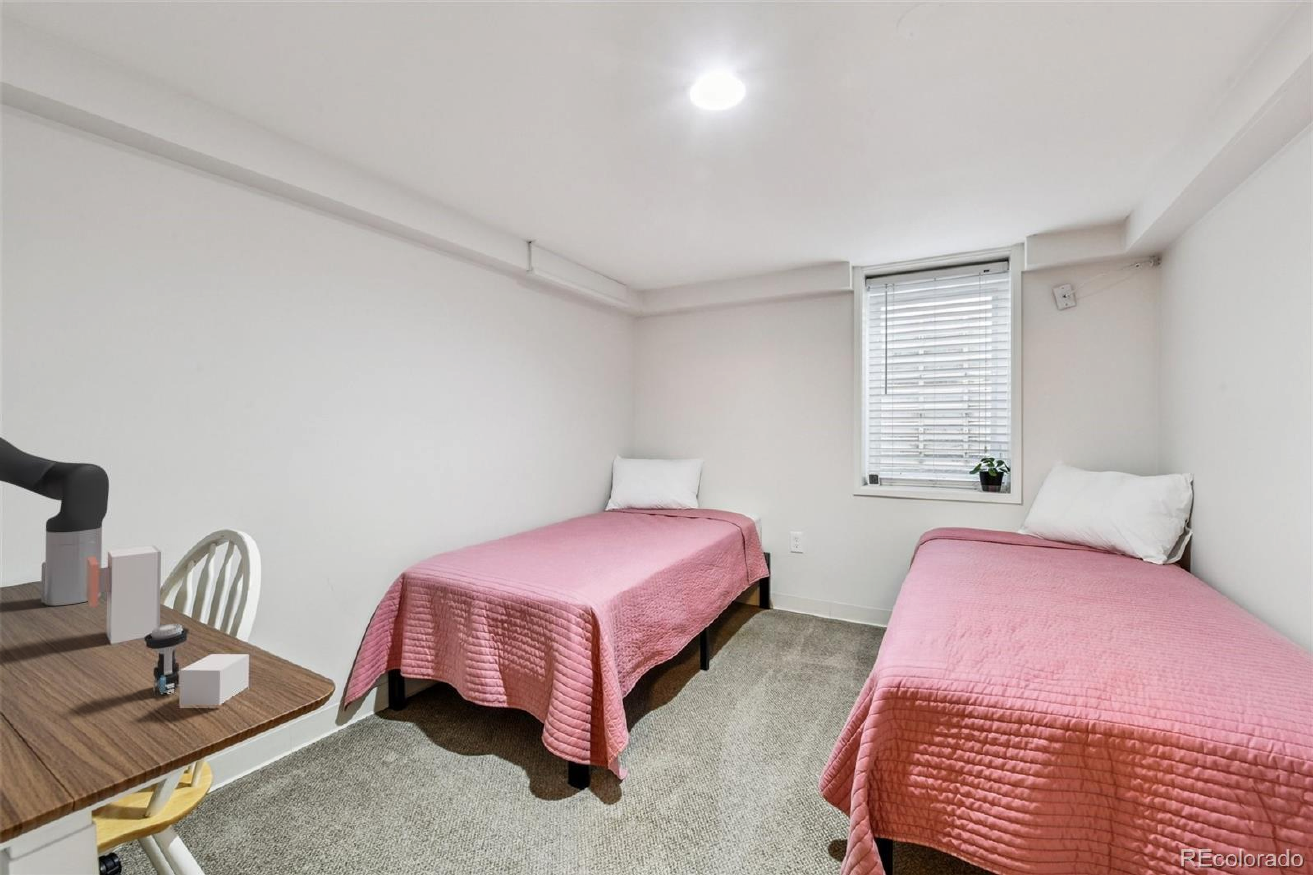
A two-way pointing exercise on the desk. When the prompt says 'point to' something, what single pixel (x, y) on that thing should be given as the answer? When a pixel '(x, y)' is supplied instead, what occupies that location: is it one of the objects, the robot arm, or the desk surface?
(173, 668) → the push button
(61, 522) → the robot arm
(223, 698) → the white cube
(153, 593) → the socket block
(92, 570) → the plug
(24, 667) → the desk surface
